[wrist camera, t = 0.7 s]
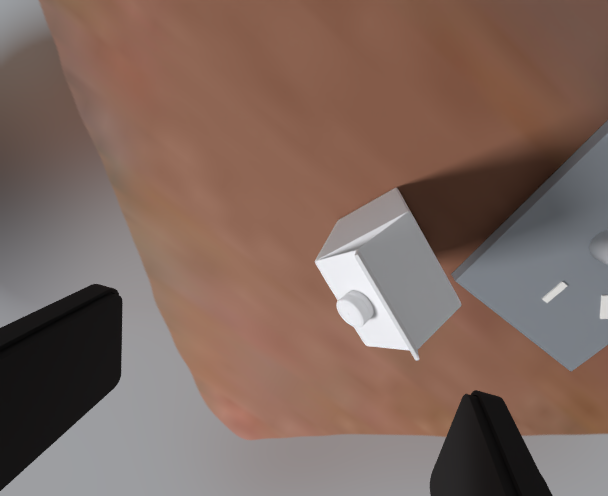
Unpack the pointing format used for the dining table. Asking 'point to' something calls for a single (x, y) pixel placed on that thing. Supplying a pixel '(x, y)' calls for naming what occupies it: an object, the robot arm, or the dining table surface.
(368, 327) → the milk carton
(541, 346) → the post stand
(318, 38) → the dining table surface
